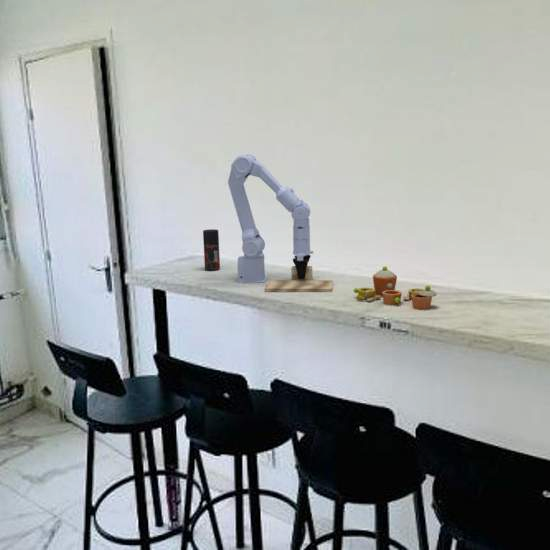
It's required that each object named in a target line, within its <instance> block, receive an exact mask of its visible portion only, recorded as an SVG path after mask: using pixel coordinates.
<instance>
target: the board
mask: <svg viewBox="0 0 550 550" xmlns="http://www.w3.org/2000/svg"><path fill="white" fill-rule="evenodd" d="M333 288H334V280H327V279H326V280H320V279H319V280H316V279H315V280H313V279H312V280H292V279H289V280H288V279H287V280H286V279H281V280H280V279H269V280H268V282H267V284H266V285H265V287H264V293H333Z"/></svg>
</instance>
